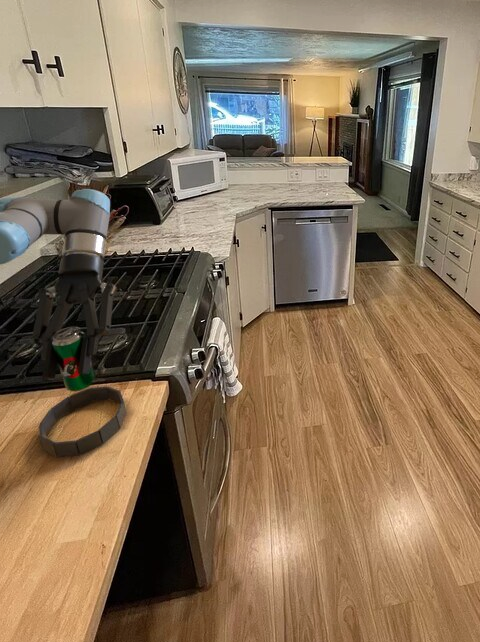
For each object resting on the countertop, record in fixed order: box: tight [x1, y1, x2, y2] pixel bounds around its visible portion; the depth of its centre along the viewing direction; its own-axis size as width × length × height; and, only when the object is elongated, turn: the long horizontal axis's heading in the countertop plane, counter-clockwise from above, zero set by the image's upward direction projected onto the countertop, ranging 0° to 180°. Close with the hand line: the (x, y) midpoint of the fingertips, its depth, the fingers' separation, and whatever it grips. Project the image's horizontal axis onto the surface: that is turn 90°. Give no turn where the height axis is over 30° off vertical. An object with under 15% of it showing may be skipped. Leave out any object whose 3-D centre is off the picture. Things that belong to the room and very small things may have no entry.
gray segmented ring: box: [38, 386, 128, 459], centre depth 75 cm, size 15×15×4 cm
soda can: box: [52, 326, 96, 392], centre depth 69 cm, size 5×5×12 cm
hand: (66, 375), depth 66 cm, fingers closed on soda can, 5 cm apart
